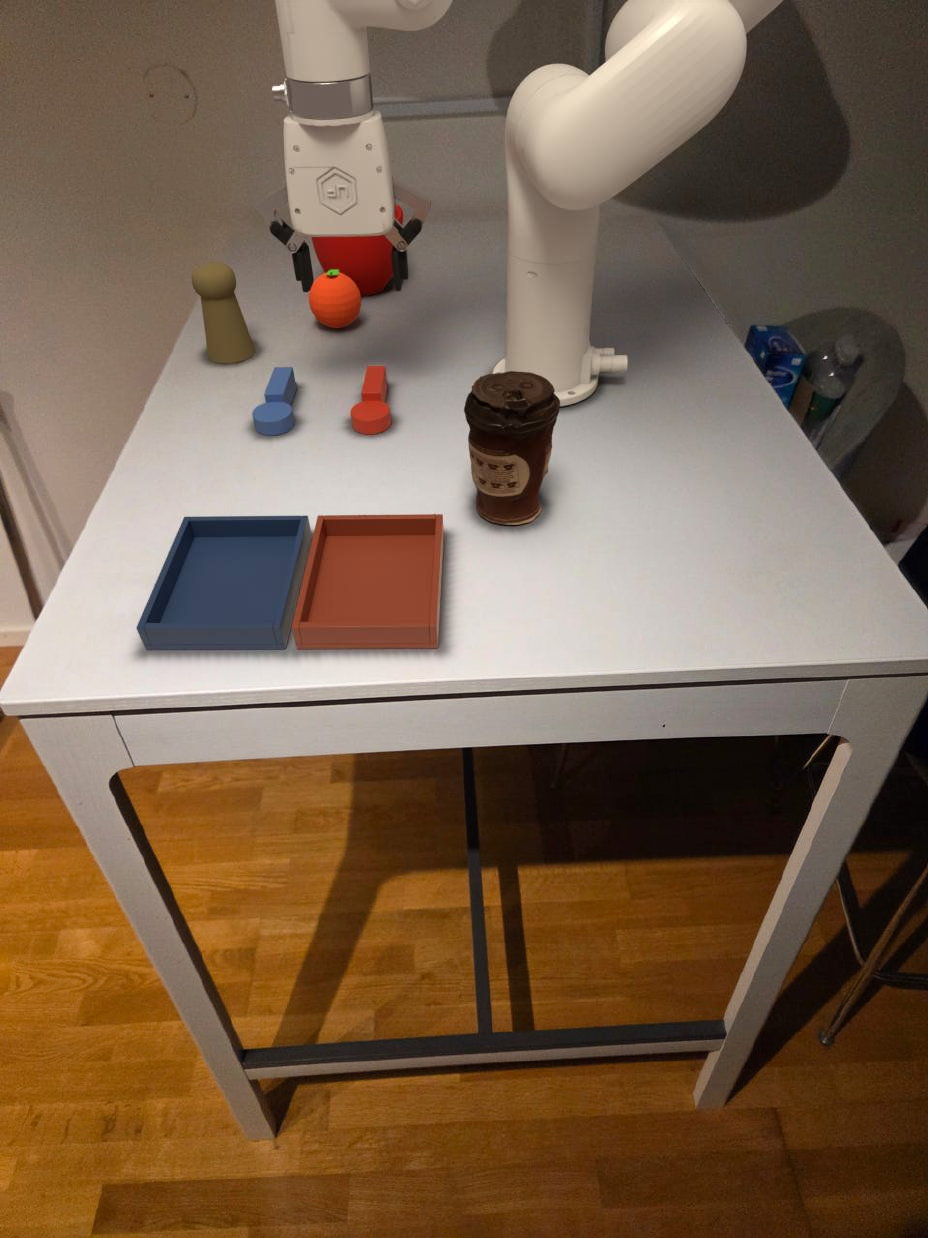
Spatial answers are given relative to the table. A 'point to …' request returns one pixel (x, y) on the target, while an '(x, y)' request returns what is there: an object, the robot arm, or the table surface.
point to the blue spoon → (277, 404)
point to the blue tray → (228, 584)
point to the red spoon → (372, 403)
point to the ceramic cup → (359, 258)
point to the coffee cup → (510, 443)
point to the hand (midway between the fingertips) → (353, 286)
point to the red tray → (371, 583)
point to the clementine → (335, 299)
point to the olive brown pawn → (222, 314)
